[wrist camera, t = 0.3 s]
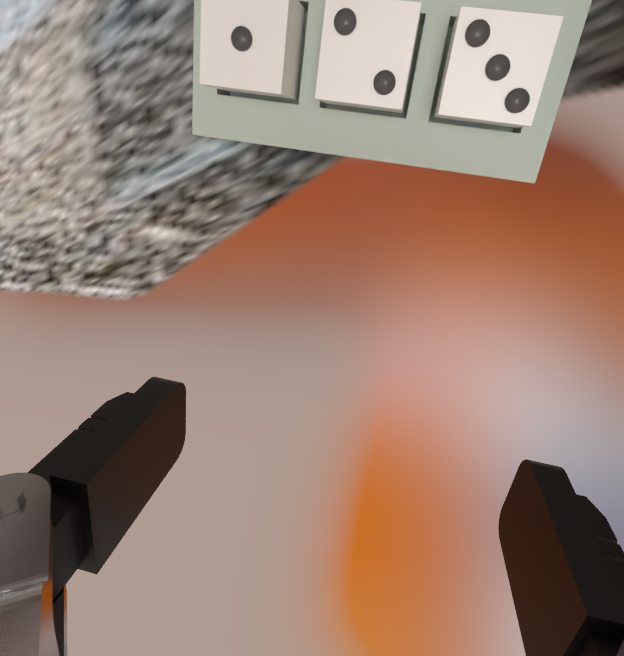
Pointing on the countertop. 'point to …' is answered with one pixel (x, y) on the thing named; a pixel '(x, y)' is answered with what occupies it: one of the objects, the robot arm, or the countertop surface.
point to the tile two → (367, 53)
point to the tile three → (496, 66)
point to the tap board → (419, 107)
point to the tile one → (251, 46)
